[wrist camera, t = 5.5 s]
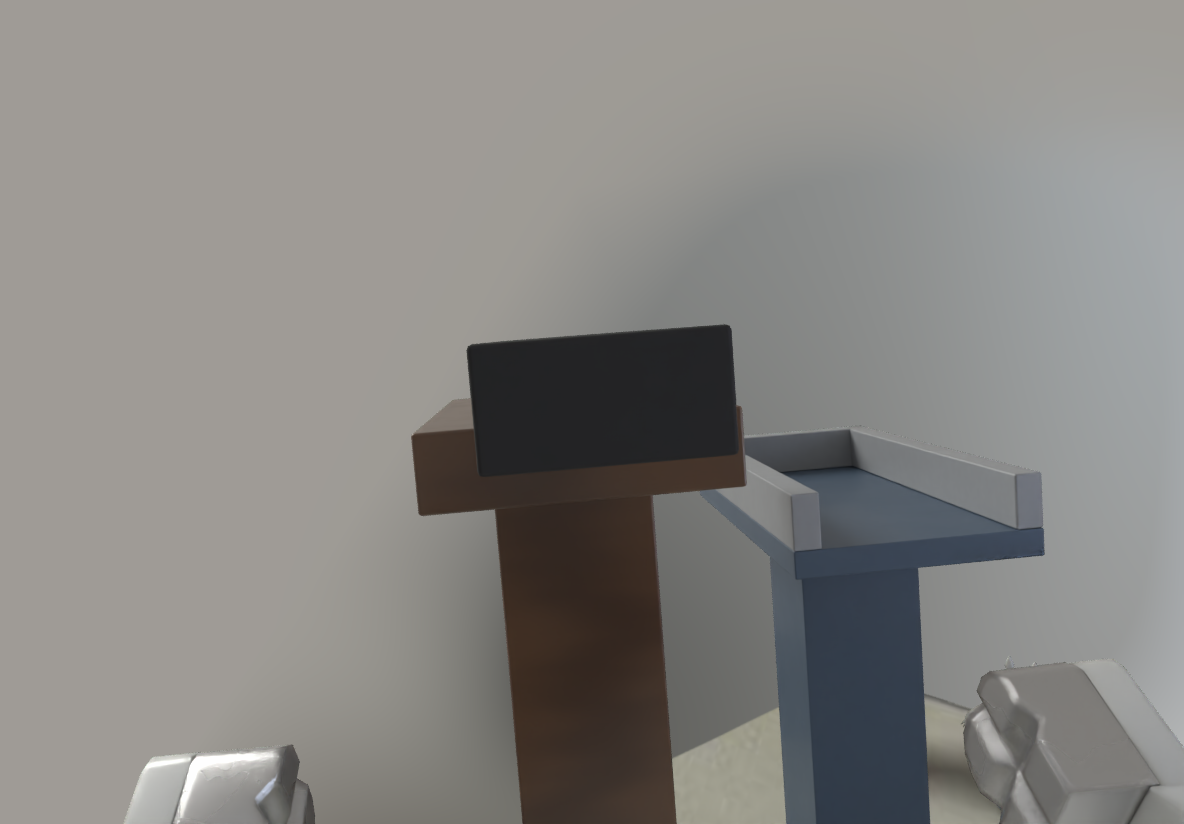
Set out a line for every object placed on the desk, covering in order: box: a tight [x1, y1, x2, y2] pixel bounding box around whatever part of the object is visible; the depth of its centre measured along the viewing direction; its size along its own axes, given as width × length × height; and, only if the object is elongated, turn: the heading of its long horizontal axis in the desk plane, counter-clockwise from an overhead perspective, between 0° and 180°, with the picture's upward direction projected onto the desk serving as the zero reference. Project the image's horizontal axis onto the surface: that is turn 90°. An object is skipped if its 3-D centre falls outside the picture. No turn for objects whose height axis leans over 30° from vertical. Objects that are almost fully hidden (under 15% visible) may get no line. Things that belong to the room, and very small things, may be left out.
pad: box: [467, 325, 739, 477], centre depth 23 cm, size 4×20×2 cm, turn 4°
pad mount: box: [700, 426, 1044, 824], centre depth 41 cm, size 10×17×22 cm, turn 4°
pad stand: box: [411, 398, 747, 824], centre depth 29 cm, size 10×12×26 cm
